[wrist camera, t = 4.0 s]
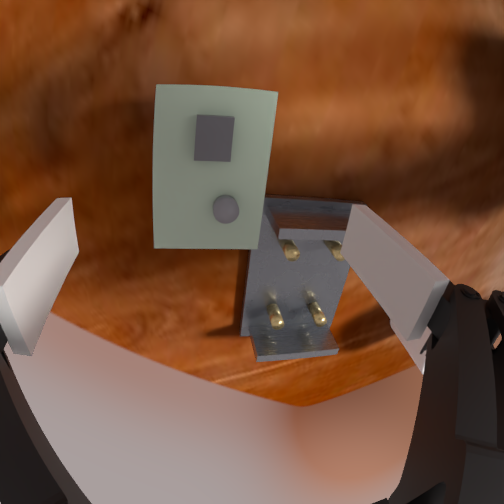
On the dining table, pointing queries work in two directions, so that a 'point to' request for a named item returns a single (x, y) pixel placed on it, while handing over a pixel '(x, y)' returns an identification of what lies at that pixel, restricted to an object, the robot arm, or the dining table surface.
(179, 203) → the board
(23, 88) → the dining table surface
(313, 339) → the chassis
